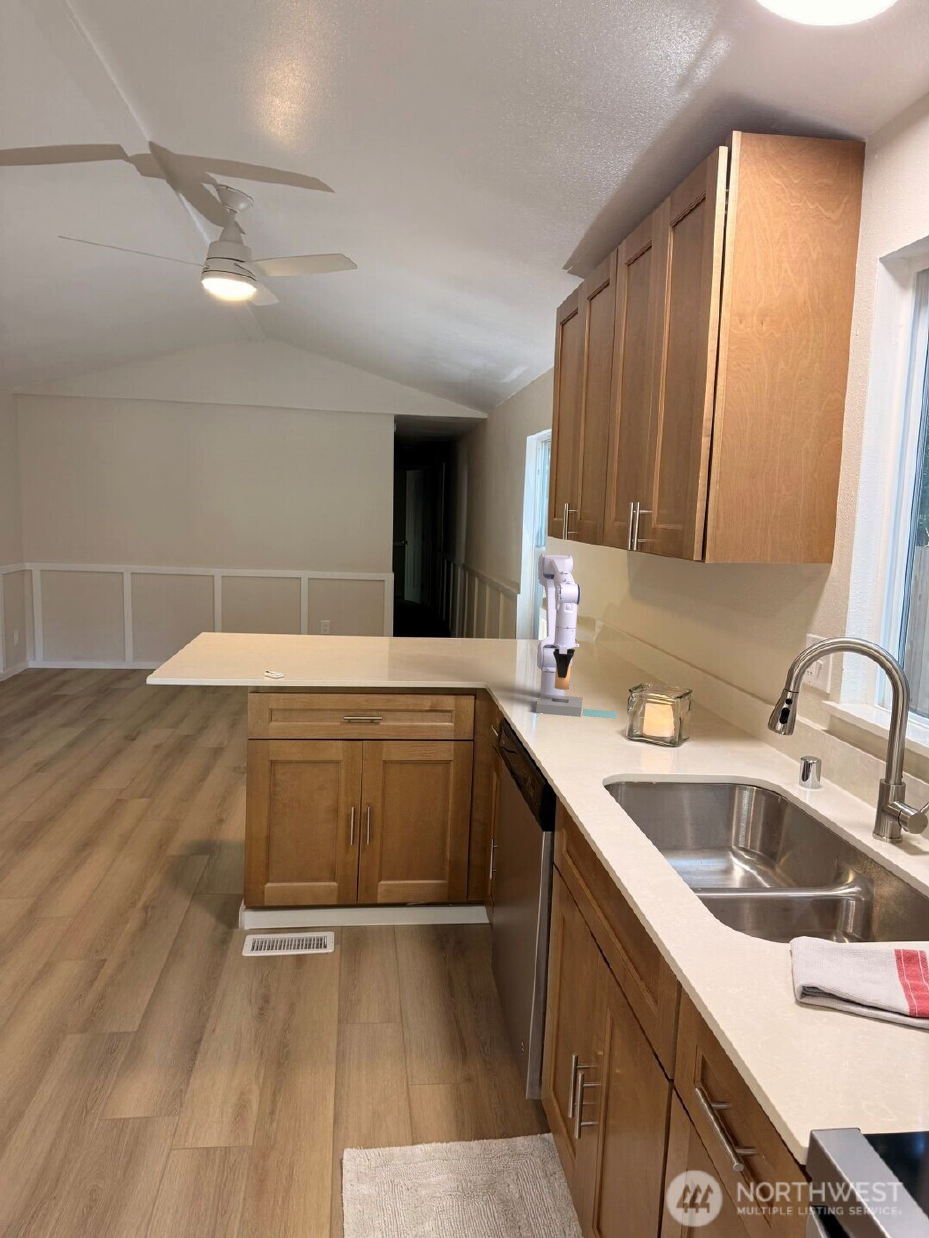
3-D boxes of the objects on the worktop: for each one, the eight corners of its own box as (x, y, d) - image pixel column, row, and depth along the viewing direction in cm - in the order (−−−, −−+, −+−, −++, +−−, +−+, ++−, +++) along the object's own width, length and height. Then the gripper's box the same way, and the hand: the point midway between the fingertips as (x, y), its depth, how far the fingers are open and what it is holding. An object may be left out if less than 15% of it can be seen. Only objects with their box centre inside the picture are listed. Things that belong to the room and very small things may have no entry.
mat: (583, 710, 238) (583, 708, 238) (615, 713, 237) (616, 711, 237) (582, 717, 229) (582, 715, 229) (616, 720, 228) (616, 718, 228)
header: (539, 704, 244) (540, 693, 243) (581, 707, 242) (582, 697, 241) (535, 714, 230) (536, 703, 230) (580, 718, 228) (581, 707, 228)
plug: (555, 686, 237) (556, 661, 236) (569, 687, 237) (570, 662, 236) (554, 688, 233) (555, 663, 233) (568, 690, 233) (570, 664, 232)
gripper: (579, 631, 225) (576, 681, 227) (581, 625, 240) (578, 672, 241) (552, 629, 226) (549, 679, 228) (556, 623, 241) (553, 670, 242)
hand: (562, 676), depth 235 cm, fingers closed on plug, 4 cm apart
